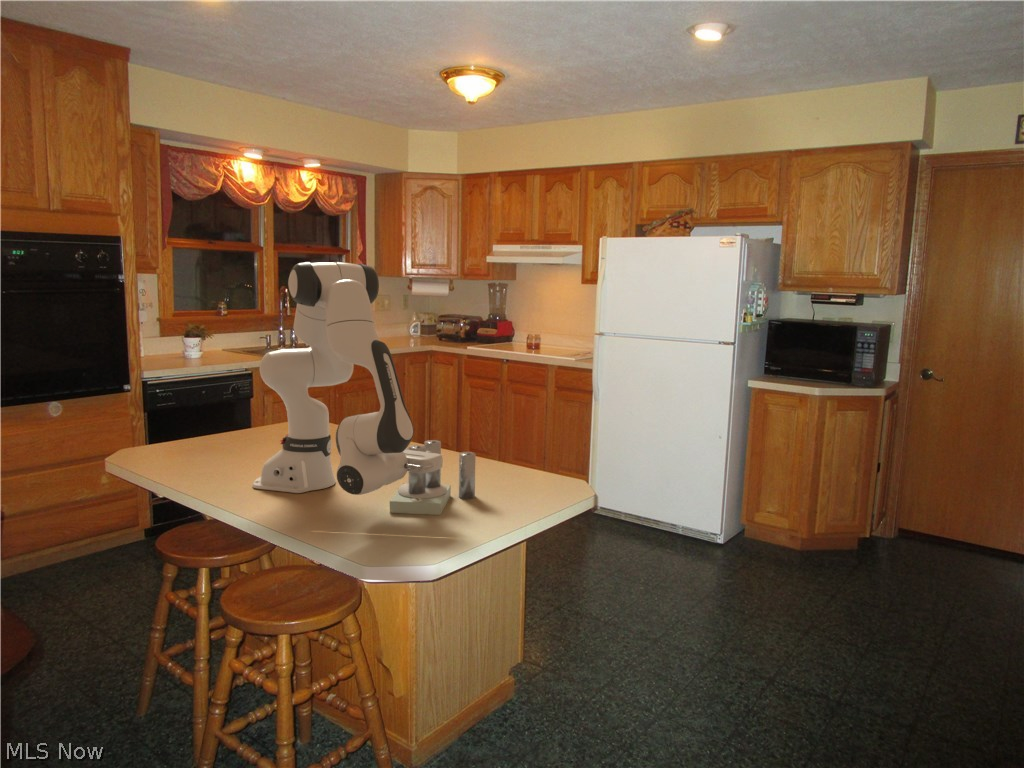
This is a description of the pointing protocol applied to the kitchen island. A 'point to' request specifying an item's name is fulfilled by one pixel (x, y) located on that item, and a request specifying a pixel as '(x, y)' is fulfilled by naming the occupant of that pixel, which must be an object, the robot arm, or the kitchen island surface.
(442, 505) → the scale
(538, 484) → the kitchen island surface
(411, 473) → the cylinder
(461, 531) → the kitchen island surface
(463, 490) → the cylinder
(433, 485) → the cylinder
